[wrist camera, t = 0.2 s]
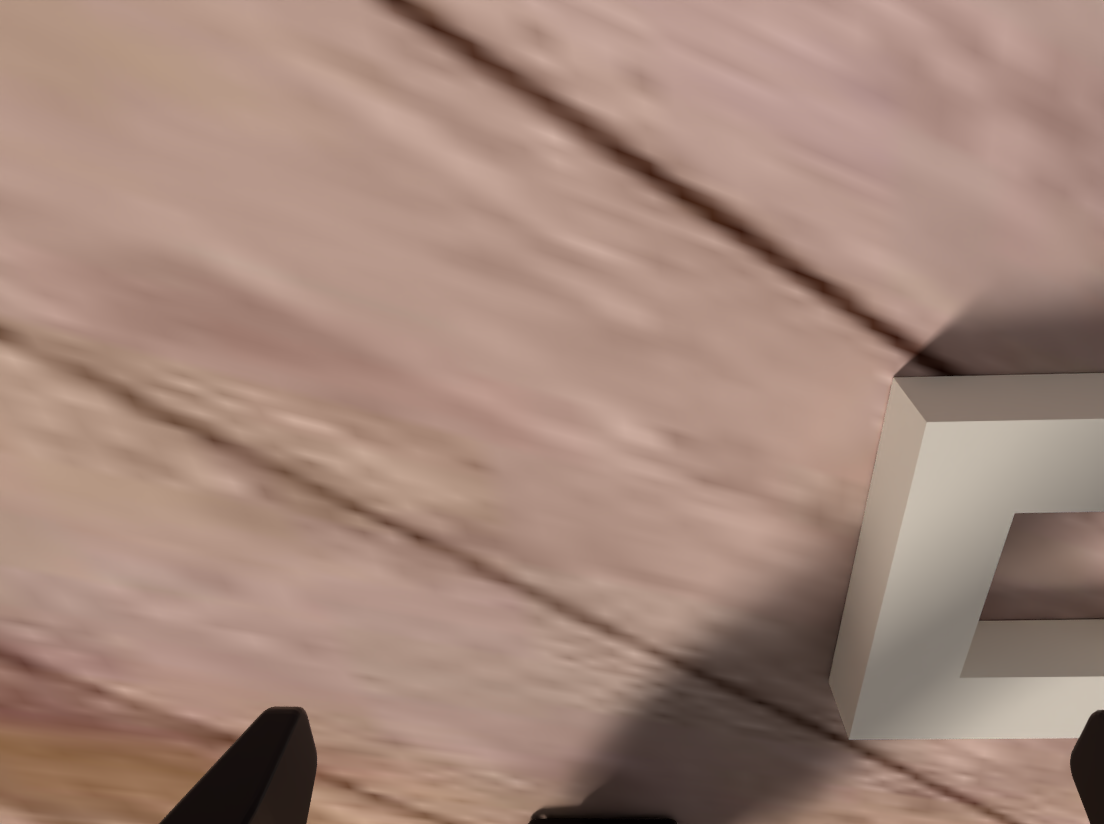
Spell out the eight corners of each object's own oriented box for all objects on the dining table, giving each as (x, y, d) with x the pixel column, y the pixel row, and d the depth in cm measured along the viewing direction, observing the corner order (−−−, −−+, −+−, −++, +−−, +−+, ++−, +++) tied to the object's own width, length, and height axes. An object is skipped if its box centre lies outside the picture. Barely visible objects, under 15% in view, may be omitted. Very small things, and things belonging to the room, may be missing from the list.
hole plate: (1182, 678, 29) (1230, 737, 27) (828, 682, 30) (848, 739, 28) (1352, 367, 23) (1434, 412, 21) (893, 377, 23) (926, 422, 21)
